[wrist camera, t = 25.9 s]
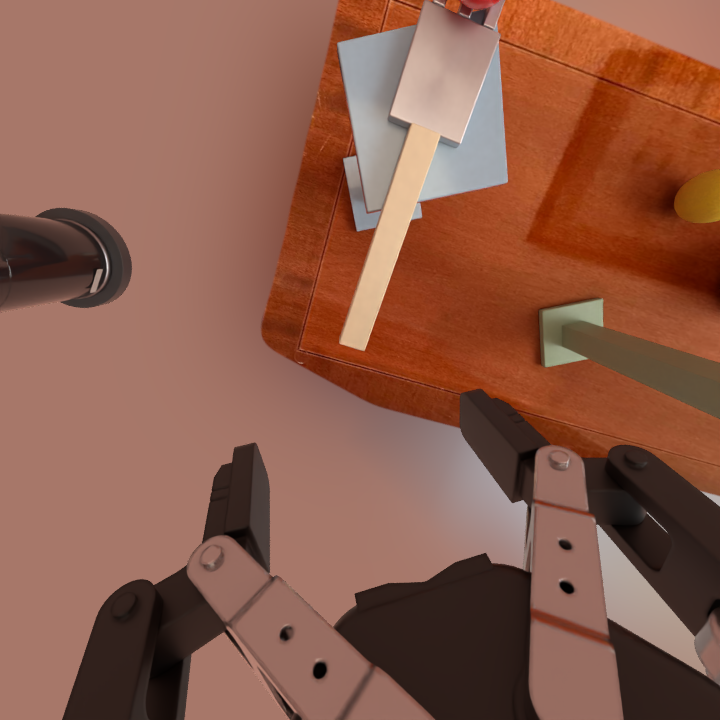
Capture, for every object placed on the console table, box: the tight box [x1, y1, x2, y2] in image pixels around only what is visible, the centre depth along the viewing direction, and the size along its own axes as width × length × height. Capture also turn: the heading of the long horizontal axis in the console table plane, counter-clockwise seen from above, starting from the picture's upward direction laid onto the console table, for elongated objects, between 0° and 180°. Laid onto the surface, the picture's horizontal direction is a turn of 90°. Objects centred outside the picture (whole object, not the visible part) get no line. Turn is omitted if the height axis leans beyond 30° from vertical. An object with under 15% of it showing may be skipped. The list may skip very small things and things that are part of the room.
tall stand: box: [539, 298, 720, 419], centre depth 33 cm, size 8×8×32 cm
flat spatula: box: [339, 0, 505, 351], centre depth 18 cm, size 20×4×4 cm, turn 161°
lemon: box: [674, 169, 720, 223], centre depth 40 cm, size 6×6×8 cm
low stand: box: [337, 9, 508, 232], centre depth 31 cm, size 8×8×25 cm
